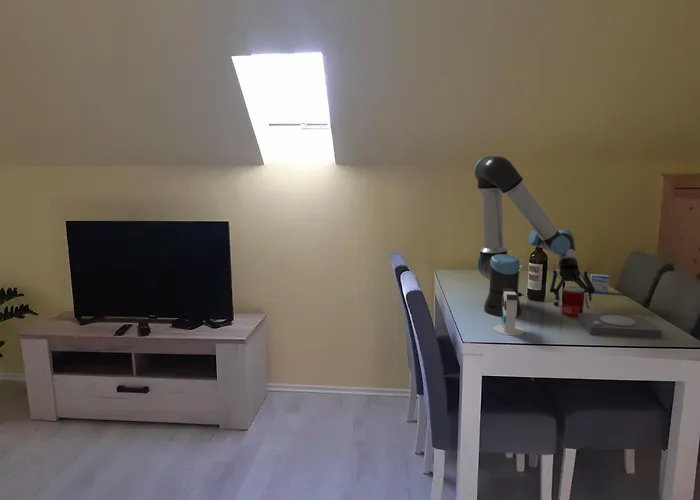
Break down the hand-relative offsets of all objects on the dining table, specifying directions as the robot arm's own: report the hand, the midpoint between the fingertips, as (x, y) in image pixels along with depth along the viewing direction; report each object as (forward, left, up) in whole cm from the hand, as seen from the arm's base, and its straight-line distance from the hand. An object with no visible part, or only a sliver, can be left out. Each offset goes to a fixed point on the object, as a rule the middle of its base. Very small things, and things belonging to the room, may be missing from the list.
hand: (574, 307), depth 215 cm
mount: (+12, -14, -4) cm, 19 cm away
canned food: (0, +3, -4) cm, 5 cm away
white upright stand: (-29, -22, -4) cm, 37 cm away
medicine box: (+22, +43, -4) cm, 48 cm away
